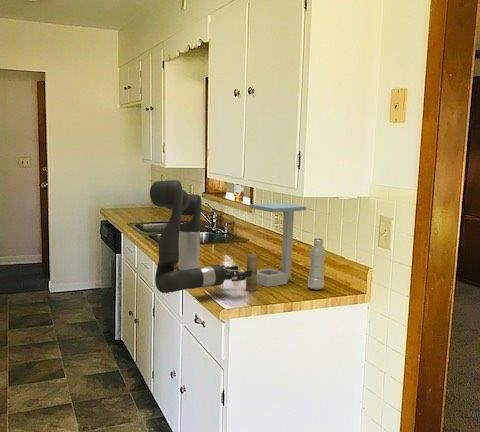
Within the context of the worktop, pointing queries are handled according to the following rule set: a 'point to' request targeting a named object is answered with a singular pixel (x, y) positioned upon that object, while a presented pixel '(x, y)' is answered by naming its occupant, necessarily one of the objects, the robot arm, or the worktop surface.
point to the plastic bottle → (316, 265)
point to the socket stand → (280, 277)
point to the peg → (252, 267)
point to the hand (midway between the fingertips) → (244, 270)
